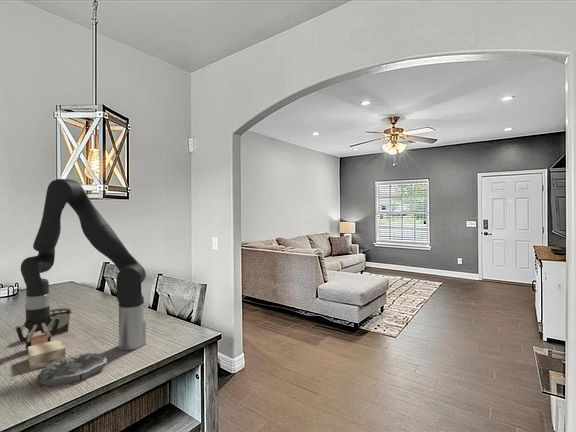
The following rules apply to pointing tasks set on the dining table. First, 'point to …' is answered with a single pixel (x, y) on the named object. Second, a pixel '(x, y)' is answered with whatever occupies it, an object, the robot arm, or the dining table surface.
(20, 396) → the dining table surface
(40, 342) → the terracotta cube
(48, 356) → the birch block
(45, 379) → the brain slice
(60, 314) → the food container
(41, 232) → the robot arm
